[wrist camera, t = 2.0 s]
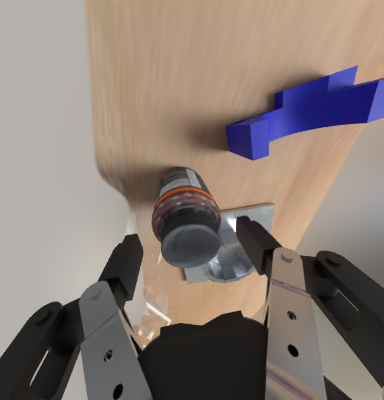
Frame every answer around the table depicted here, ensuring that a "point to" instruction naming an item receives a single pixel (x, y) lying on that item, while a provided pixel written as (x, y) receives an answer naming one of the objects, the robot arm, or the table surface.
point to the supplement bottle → (186, 219)
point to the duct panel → (231, 247)
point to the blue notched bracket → (309, 111)
